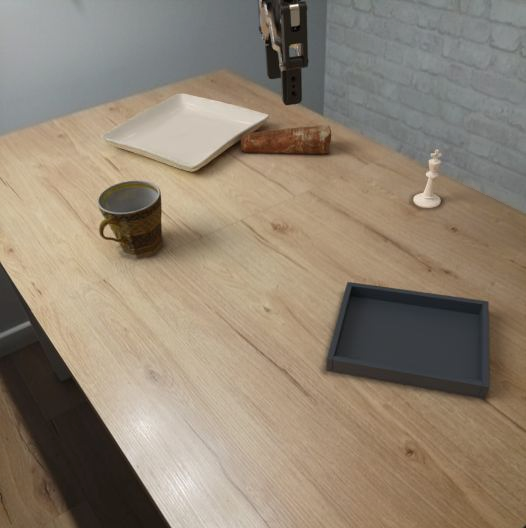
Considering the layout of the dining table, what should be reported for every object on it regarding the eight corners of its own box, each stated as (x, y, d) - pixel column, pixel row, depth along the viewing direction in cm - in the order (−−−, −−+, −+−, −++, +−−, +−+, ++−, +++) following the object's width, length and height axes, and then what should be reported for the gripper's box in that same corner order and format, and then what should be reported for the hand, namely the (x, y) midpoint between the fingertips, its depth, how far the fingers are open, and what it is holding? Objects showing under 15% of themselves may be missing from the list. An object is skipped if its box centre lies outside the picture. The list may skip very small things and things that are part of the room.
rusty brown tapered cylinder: (329, 159, 106) (331, 132, 102) (239, 157, 109) (237, 131, 105) (331, 145, 111) (332, 119, 107) (244, 143, 113) (242, 118, 109)
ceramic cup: (136, 226, 93) (122, 175, 86) (182, 238, 90) (172, 186, 83) (90, 268, 86) (71, 216, 78) (139, 283, 82) (124, 230, 75)
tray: (483, 315, 73) (488, 301, 71) (483, 401, 63) (489, 387, 61) (346, 295, 78) (347, 281, 76) (325, 372, 68) (326, 358, 66)
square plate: (101, 152, 114) (96, 134, 111) (182, 106, 129) (179, 90, 126) (195, 183, 103) (192, 164, 100) (272, 129, 117) (271, 112, 115)
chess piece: (410, 196, 95) (419, 143, 88) (437, 195, 95) (449, 142, 88) (414, 211, 92) (424, 157, 85) (442, 210, 92) (455, 156, 84)
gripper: (334, -76, 46) (330, 108, 58) (295, -97, 56) (299, 65, 68) (252, -65, 46) (265, 118, 58) (227, -88, 55) (243, 74, 67)
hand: (283, 89), depth 63 cm, fingers open, 8 cm apart
